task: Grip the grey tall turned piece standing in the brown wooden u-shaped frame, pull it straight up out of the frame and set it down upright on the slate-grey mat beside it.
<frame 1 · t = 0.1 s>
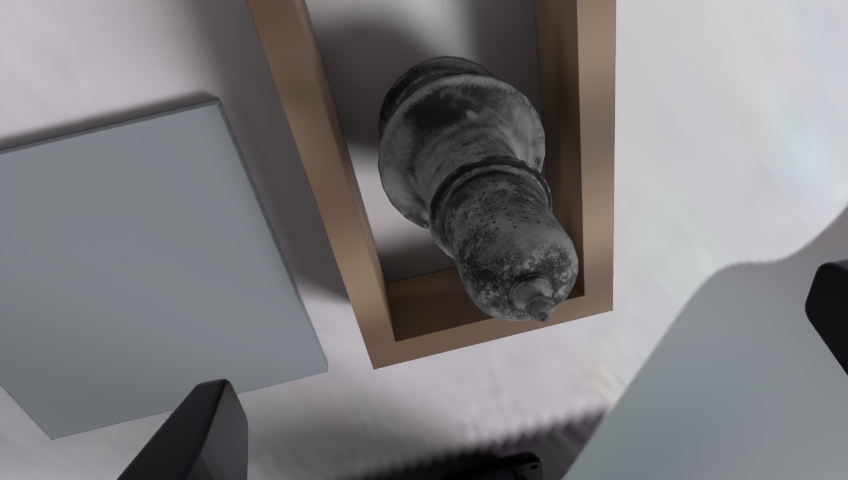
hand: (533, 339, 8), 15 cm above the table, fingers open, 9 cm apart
grey tall turned piece: (443, 123, 22), resting in brown wooden u-shaped frame
slate mat: (125, 290, 23), on the table
brown wooden u-shaped frame: (444, 125, 21), on the table
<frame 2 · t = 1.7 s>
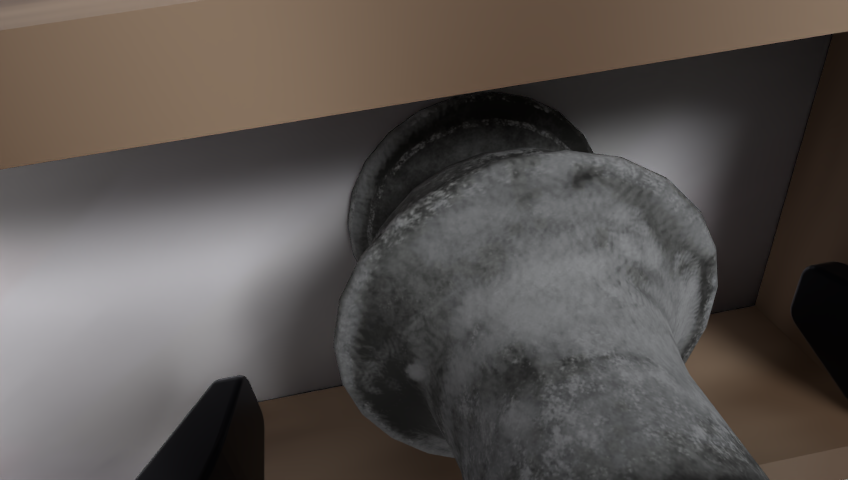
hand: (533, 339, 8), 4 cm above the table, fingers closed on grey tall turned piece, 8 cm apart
grey tall turned piece: (474, 214, 11), resting in brown wooden u-shaped frame, touching gripper
brown wooden u-shaped frame: (477, 219, 11), on the table
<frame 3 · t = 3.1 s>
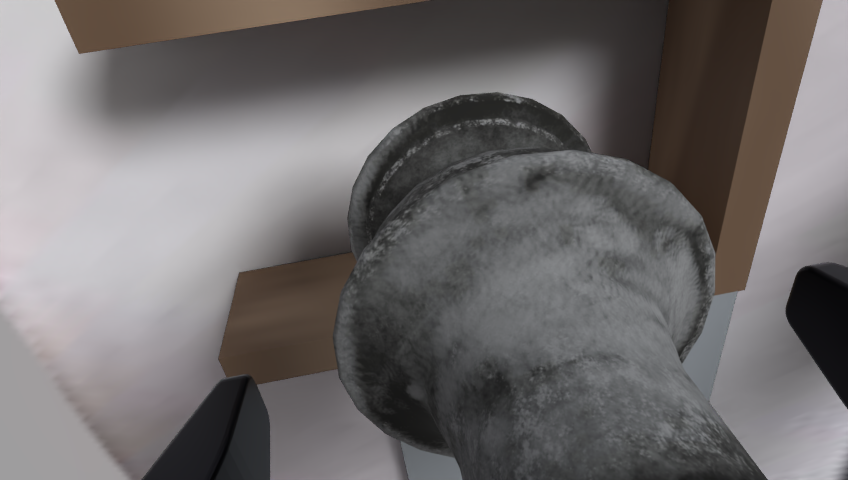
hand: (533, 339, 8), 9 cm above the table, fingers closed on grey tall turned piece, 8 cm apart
grey tall turned piece: (474, 214, 11), point 6 cm above the table, touching gripper
slate mat: (555, 421, 24), on the table
brown wooden u-shaped frame: (434, 122, 16), on the table
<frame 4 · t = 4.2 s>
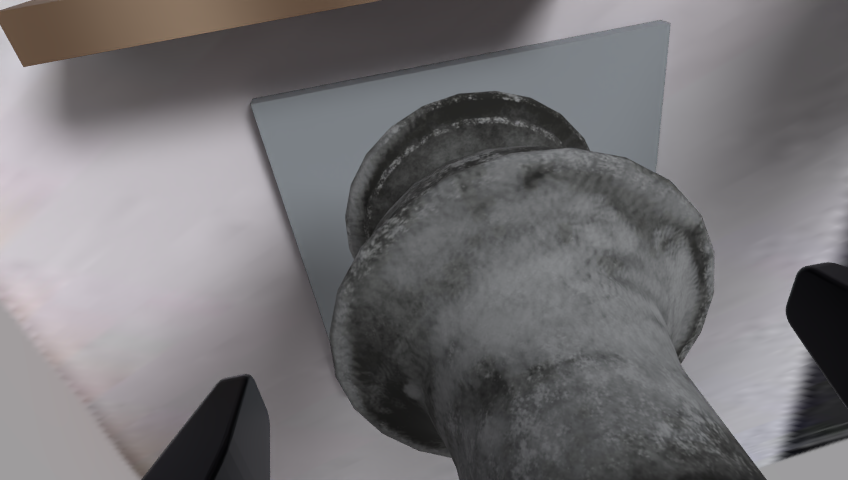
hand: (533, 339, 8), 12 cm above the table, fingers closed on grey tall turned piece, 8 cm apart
grey tall turned piece: (472, 213, 11), point 8 cm above the table, touching gripper
slate mat: (479, 233, 22), on the table
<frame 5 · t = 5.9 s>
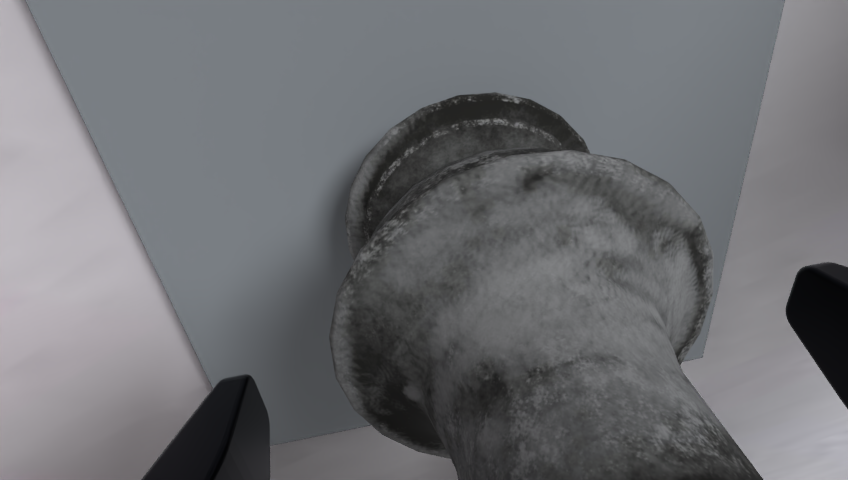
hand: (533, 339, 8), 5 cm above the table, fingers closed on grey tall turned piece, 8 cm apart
grey tall turned piece: (472, 214, 11), point 2 cm above the table, touching gripper
slate mat: (455, 185, 13), on the table
when the fingers open (5 cm above the table, at t = 6.8 s): grey tall turned piece drops 1 cm, resting on slate mat.
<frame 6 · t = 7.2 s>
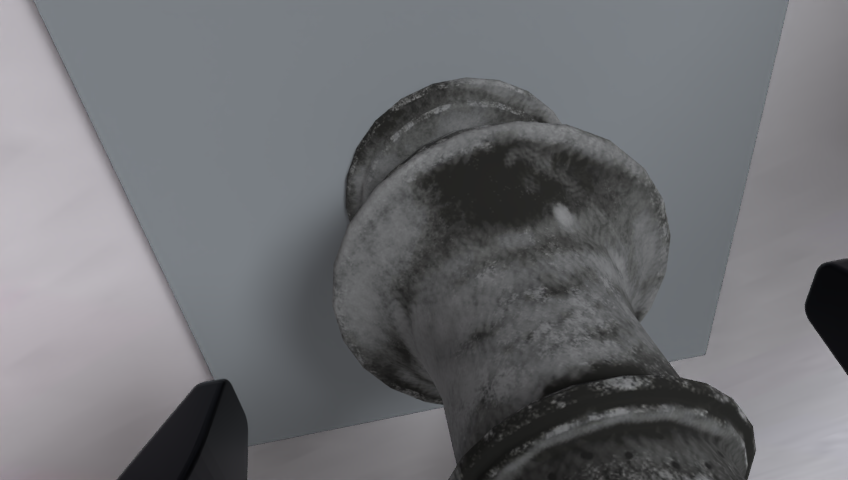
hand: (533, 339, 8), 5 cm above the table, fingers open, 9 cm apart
grey tall turned piece: (461, 190, 12), resting on slate mat
slate mat: (458, 181, 13), on the table
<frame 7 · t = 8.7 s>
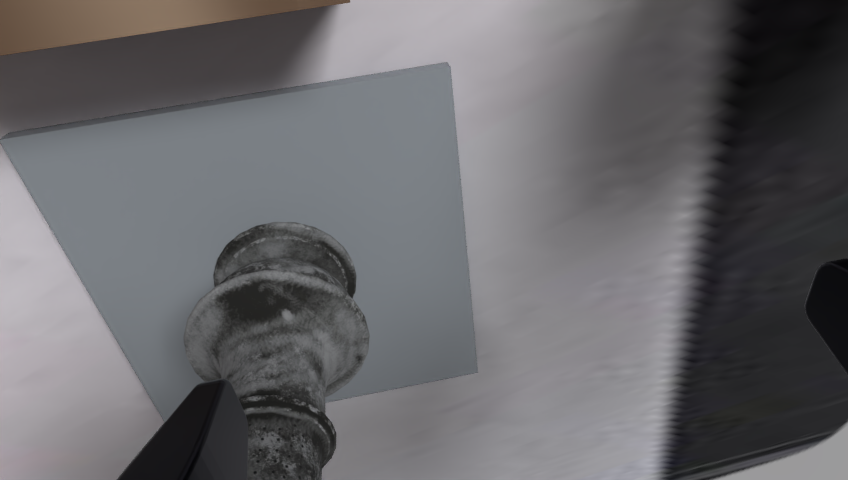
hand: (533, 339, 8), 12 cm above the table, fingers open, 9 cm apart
grey tall turned piece: (287, 278, 21), resting on slate mat
slate mat: (288, 271, 21), on the table
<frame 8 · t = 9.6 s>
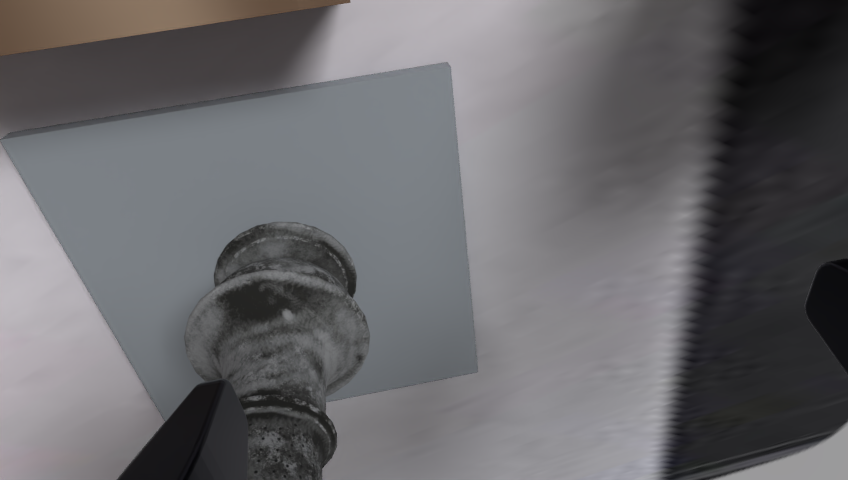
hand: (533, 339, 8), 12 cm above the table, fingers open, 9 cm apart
grey tall turned piece: (287, 278, 21), resting on slate mat
slate mat: (289, 271, 21), on the table
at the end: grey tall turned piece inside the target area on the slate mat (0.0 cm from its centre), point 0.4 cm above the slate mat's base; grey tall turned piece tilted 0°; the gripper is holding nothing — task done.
